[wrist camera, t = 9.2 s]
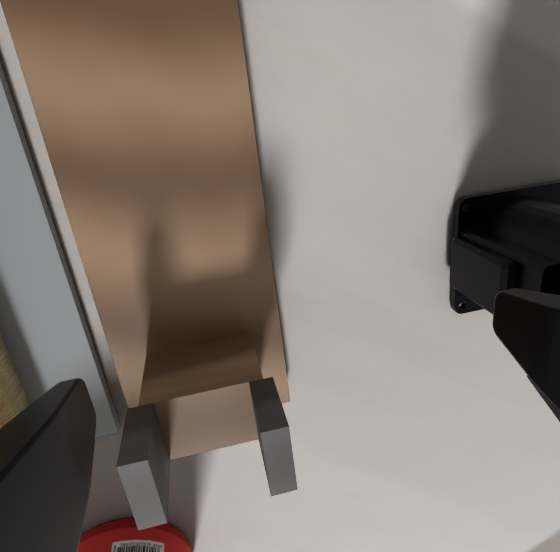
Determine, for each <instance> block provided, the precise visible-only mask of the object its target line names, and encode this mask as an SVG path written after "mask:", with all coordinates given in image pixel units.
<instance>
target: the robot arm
mask: <svg viewBox="0 0 560 552" xmlns="http://www.w3.org/2000/svg"><path fill="white" fill-rule="evenodd" d="M466 203H468V207H467V209H466V210H463V208H464V205H465V204H466ZM450 285H451V300H450V305H451V308H452V309H453V310H454V311H455V312H457V313H459V314H462V313H467V312H472V311H477V310H481V309H486V310H487V311H488V312H490V313H491V314H493V329H494V331H495V334H496V335H497V337H498V338H499V339H500V340H501V342H502V343H503V344H504V346H505V347H506V348H507V349H508V351H509V352H510V353H511V354H512V356H513V357H514V358H515V360H516V361H517V362H518V363H519V365H520V366H521V367H522V368H523V370H524V371H525V372H526V374H527V377H528V379H529V380H530V381H531V383H532V384H533V386H534V387H535V388H536V390H537V391H538V392H539V394H540V395H541V397H542V398H543V399H544V401H545V402H546V403H547V405H548V406H549V408H550V409H551V410H552V412H553V413H554V414H555V416H556V417H557V419H558V420H559V421H560V180H556V181H550V182H544V183H539V184H533V185H527V186H521V187H515V188H509V189H503V190H497V191H492V192H486V193H480V194H474V195H468V196H463V197H460V198H459V199H458V200H457V201H456V203H455V207H454V227H453V240H452V242H451V260H450ZM462 301H463V303H462V304H461V306H459V304H460V303H461V302H462ZM458 306H459V307H458ZM95 432H96V413H95V409H94V406H93V404H92V401H91V398H90V395H89V392H88V389H87V387H86V384H85V382H84V381H83V380H82V379H81V378H75V379H70V380H65V381H61V382H59V383H57V384H56V385H55V386H54V387H52V388H51V389H50V390H48V391H47V392H46V393H45V394H43V395H42V396H41V397H39V398H38V399H37V400H36V401H34V402H33V403H32V404H30V405H29V406H28V407H27V408H25V409H24V410H23V411H21V412H20V413H19V414H18V415H16V416H15V417H14V418H13V419H11V420H10V421H9V422H7V423H6V424H5V425H4V426H2V427H1V428H0V552H77V551H78V546H79V542H80V537H81V532H82V528H83V523H84V519H85V514H86V509H87V504H88V499H89V494H90V485H91V476H92V465H93V454H94V443H95Z"/></svg>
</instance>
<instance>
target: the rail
mask: <svg viewBox="0 0 560 552" xmlns="http://www.w3.org/2000/svg"><path fill="white" fill-rule="evenodd" d="M29 405H30V403H29V401H28V399H27V396H26V394H25V392H24V389H23V387H22V384H21V382H20V380H19V377H18V375H17V373H16V370H15V368H14V365H13V363H12V361H11V358H10V356H9V354H8V351H7V349H6V346H5V344H4V342H3V339H2V337H1V335H0V428H1V427H2V426H4V425H5V424H6V423H7V422H9V421H10V420H11V419H13V418H14V417H15V416H16V415H18V414H19V413H20V412H21V411H23V410H24V409H25V408H27V407H28V406H29Z"/></svg>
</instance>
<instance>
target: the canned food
mask: <svg viewBox="0 0 560 552" xmlns="http://www.w3.org/2000/svg"><path fill="white" fill-rule="evenodd" d="M77 552H192V550H191V547H190V544H189V542H188V540H187V538H186V537H185V536H184V535H183V534H182V532H181V531H180V530H178V529H177V528H175V527H174V526H172V525H170V524H167V523H166V524H162V525H158V526H154V527H150V528H146V529H142V530H138V527H137V525H136V522H135V519H134V518H128V519H121V520H116V521H111V522H108V523H105V524H103V525H100V526H97V527H95V528H93V529H91V530H90V531H88V532H86V533H85V534H83V535H82V536H81V537H80V542H79V546H78V551H77Z"/></svg>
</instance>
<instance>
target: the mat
mask: <svg viewBox="0 0 560 552" xmlns="http://www.w3.org/2000/svg"><path fill="white" fill-rule="evenodd" d="M0 335H1V337H2V339H3V342H4V344H5V346H6V349H7V351H8V354H9V356H10V358H11V361H12V363H13V365H14V368H15V370H16V373H17V375H18V377H19V380H20V382H21V384H22V387H23V389H24V392H25V394H26V396H27V399H28V401H29V403H30V404H32V403H33V402H34V401H36V400H37V399H38V398H39V397H41V396H42V395H43V394H45V393H46V392H47V391H48V390H50V389H51V388H52V387H54V386H55V385H56V384H57V383H59V382H61V381H65V380H70V379H75V378H81V379H82V380H83V381H84V382H85V384H86V387H87V389H88V392H89V395H90V398H91V401H92V404H93V406H94V409H95V413H96V432H95V438H98V437H102V436H106V435H111V434H115V433H118V432H119V427H120V424H119V421H118V418H117V415H116V412H115V409H114V406H113V403H112V400H111V397H110V393H109V390H108V387H107V384H106V381H105V378H104V375H103V372H102V369H101V366H100V363H99V360H98V357H97V354H96V351H95V348H94V345H93V342H92V339H91V336H90V333H89V330H88V327H87V324H86V321H85V317H84V314H83V311H82V308H81V305H80V302H79V299H78V296H77V293H76V290H75V287H74V284H73V281H72V278H71V275H70V272H69V269H68V266H67V263H66V260H65V257H64V254H63V251H62V248H61V245H60V241H59V238H58V235H57V232H56V229H55V226H54V223H53V220H52V217H51V214H50V211H49V208H48V205H47V202H46V199H45V196H44V193H43V190H42V187H41V184H40V181H39V178H38V175H37V172H36V168H35V165H34V162H33V159H32V156H31V153H30V150H29V147H28V144H27V141H26V138H25V135H24V132H23V129H22V126H21V123H20V120H19V117H18V114H17V111H16V108H15V105H14V102H13V99H12V96H11V92H10V89H9V86H8V83H7V80H6V77H5V74H4V71H3V68H2V65H1V62H0Z"/></svg>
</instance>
